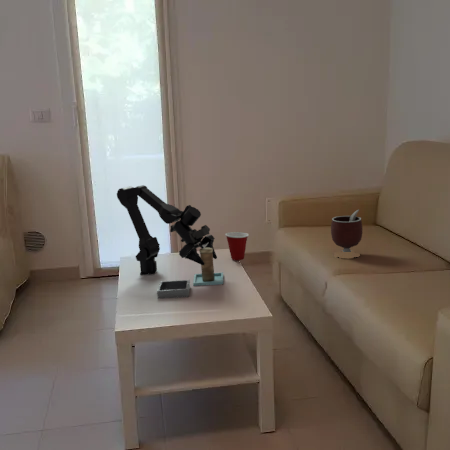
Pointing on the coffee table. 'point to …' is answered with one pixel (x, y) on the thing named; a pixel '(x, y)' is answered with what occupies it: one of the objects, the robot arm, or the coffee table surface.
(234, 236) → the plastic cup
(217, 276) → the tray
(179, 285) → the holder
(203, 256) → the canister
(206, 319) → the coffee table surface
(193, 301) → the coffee table surface
